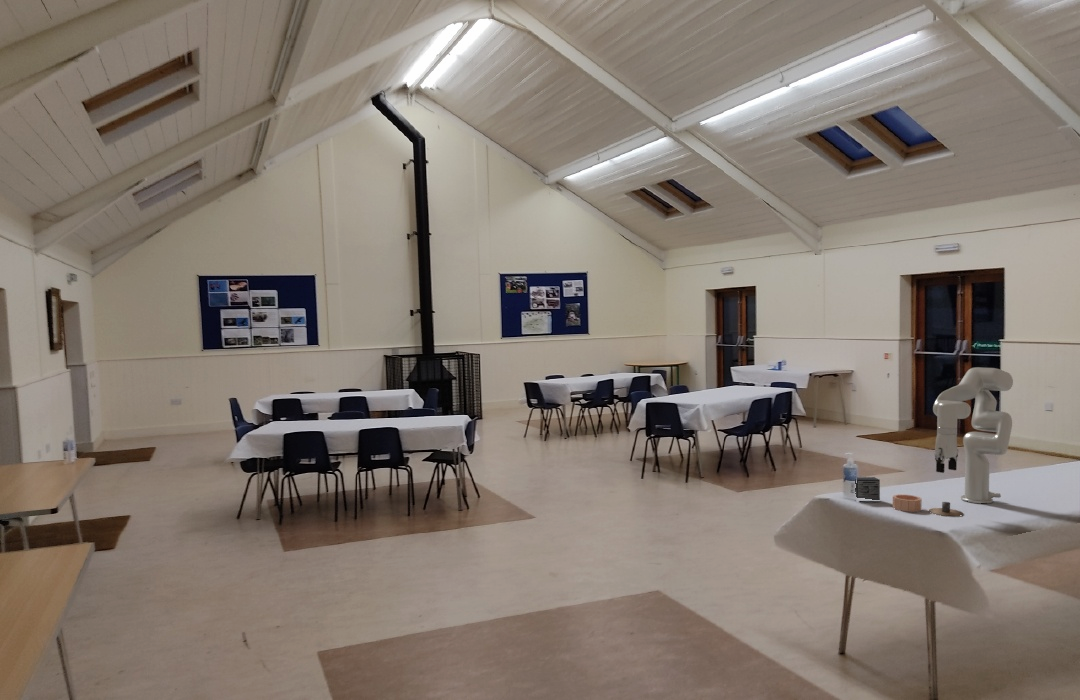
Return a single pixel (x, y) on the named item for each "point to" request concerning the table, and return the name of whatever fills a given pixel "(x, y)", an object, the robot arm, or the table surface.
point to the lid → (945, 510)
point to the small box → (868, 488)
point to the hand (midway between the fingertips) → (946, 471)
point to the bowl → (907, 503)
